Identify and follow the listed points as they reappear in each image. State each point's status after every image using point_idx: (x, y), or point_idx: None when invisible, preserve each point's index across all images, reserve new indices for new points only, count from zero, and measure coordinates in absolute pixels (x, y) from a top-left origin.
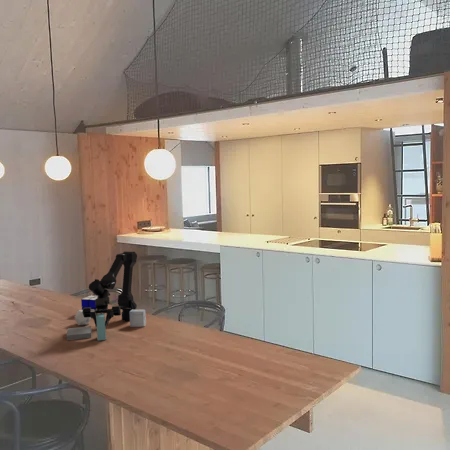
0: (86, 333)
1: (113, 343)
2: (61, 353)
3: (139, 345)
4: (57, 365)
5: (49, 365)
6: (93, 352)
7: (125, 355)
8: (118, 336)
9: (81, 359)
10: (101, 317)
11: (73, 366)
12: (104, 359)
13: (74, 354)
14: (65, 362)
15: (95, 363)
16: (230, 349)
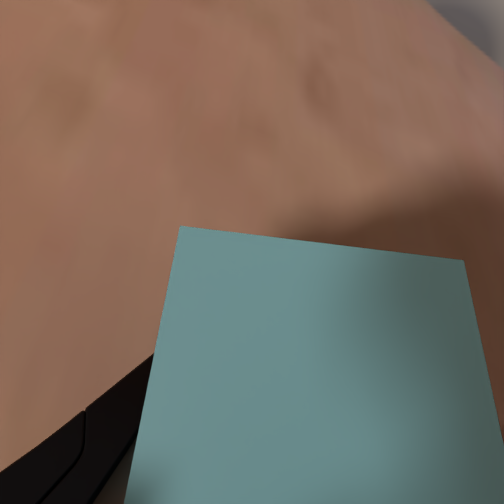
0: None
1: (170, 215)
2: (483, 178)
3: (18, 107)
4: (453, 54)
5: (487, 67)
6: (310, 120)
7: (155, 22)
8: (77, 389)
9: (363, 66)
10: (289, 246)
11: (386, 21)
12: (260, 25)
13: (408, 136)
14: (428, 66)
15: (300, 9)
16: None
